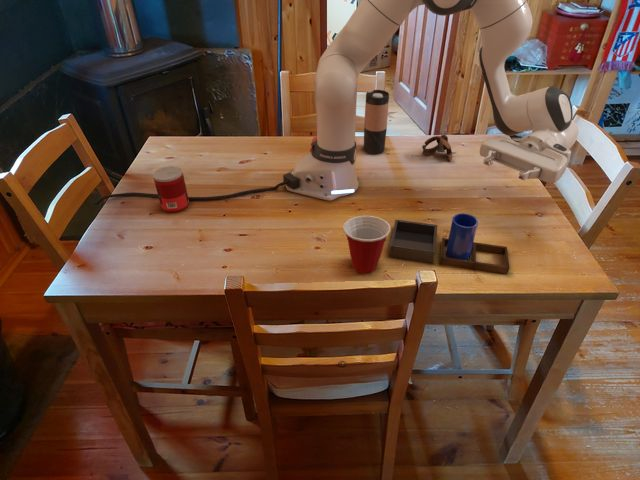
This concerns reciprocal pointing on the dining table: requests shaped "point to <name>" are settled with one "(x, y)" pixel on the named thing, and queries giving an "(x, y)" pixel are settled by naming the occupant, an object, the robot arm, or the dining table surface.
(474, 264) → the brown divided tray
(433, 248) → the dark brown square tray
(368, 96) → the travel mug
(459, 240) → the blue cup
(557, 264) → the dining table surface
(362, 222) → the plastic cup
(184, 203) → the canned food
